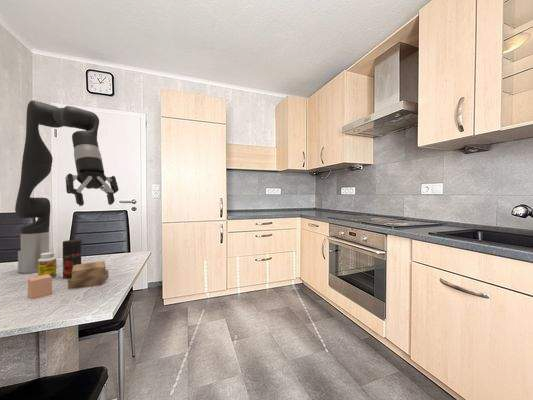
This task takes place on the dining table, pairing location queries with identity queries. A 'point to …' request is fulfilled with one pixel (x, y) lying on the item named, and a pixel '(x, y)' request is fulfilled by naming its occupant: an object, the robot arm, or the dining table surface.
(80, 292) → the dining table surface
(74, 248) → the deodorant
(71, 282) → the lower block
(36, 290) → the clay block
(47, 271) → the supplement bottle
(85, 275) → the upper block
